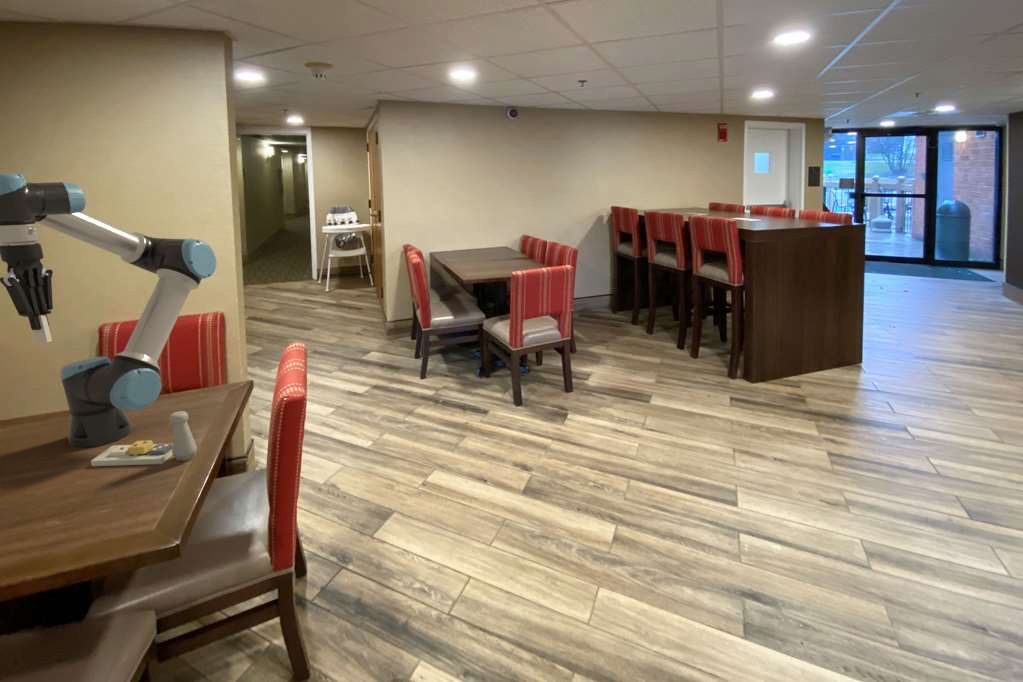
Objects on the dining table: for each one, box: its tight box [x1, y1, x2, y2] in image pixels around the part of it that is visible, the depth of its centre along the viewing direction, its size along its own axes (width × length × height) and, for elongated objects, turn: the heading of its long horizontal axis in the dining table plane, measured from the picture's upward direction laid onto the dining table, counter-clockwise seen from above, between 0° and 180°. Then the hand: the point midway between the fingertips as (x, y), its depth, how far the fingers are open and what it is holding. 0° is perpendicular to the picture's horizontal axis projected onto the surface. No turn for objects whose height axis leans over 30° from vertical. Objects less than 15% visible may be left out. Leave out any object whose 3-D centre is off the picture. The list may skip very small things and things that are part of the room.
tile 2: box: [128, 439, 154, 455], centre depth 151 cm, size 4×4×2 cm
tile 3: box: [148, 443, 172, 455], centre depth 151 cm, size 4×4×2 cm
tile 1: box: [110, 444, 132, 457], centre depth 151 cm, size 4×4×2 cm
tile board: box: [90, 443, 174, 467], centre depth 151 cm, size 18×9×2 cm, turn 92°
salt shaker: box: [168, 410, 198, 462], centre depth 149 cm, size 6×6×13 cm
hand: (44, 341), depth 136 cm, fingers closed
